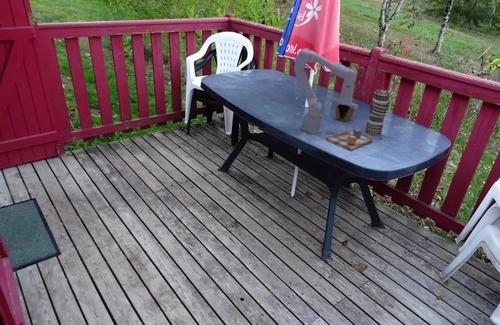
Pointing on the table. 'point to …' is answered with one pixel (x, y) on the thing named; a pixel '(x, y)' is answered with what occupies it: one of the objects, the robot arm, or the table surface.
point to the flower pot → (347, 116)
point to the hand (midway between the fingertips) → (342, 118)
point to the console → (342, 139)
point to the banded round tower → (377, 113)
